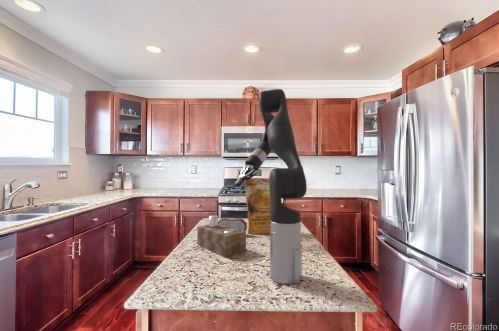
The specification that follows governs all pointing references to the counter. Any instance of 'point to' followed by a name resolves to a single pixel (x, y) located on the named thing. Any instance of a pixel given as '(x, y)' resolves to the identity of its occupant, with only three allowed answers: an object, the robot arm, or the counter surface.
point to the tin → (234, 223)
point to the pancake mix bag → (258, 205)
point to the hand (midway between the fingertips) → (236, 185)
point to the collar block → (221, 240)
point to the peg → (213, 221)
